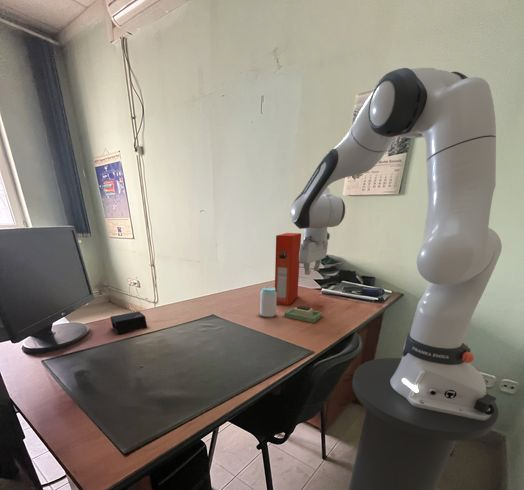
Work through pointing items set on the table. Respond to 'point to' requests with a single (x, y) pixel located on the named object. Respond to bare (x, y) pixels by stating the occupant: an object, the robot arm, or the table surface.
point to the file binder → (287, 267)
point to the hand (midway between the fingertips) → (311, 272)
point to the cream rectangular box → (303, 311)
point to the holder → (311, 319)
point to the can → (268, 302)
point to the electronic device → (128, 322)
